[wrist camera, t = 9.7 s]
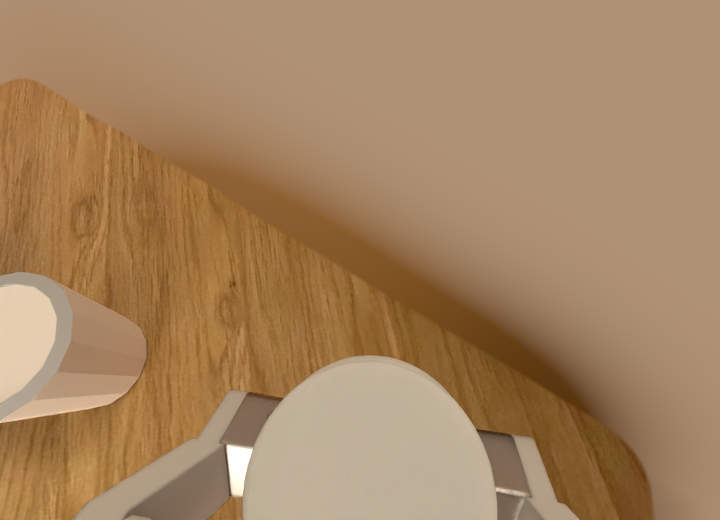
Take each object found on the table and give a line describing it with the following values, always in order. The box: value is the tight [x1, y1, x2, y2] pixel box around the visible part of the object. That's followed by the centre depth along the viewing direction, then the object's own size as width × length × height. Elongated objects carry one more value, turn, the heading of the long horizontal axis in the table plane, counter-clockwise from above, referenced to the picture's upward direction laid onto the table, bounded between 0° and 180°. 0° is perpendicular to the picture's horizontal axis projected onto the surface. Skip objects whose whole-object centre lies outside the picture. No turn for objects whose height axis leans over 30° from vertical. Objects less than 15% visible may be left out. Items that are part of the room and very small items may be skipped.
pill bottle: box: [242, 355, 497, 520], centre depth 9 cm, size 5×5×8 cm
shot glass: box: [0, 272, 147, 423], centre depth 19 cm, size 7×7×7 cm
